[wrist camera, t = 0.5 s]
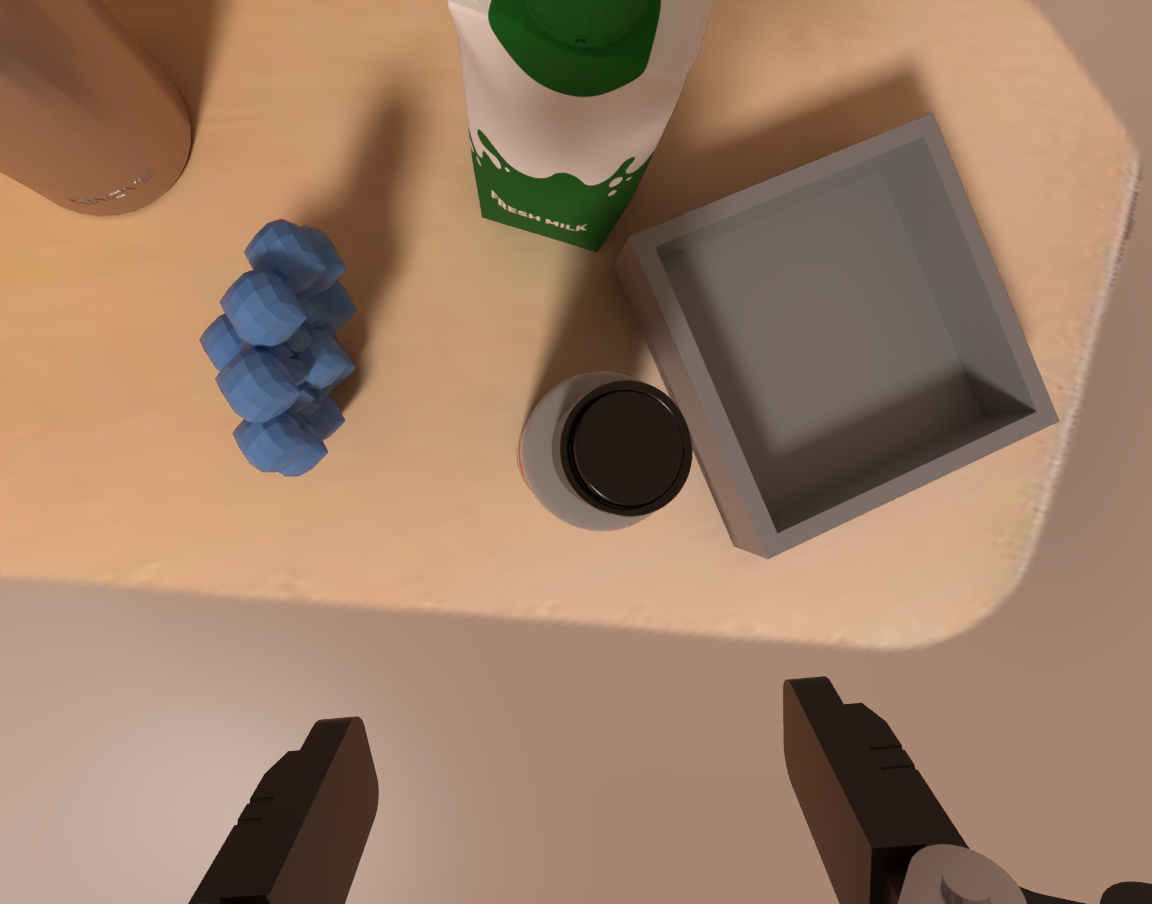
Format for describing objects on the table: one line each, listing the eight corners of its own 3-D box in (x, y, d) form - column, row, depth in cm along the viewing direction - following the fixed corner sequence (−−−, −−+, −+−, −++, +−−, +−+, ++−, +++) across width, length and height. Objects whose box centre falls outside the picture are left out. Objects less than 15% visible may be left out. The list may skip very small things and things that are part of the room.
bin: (613, 265, 38) (629, 236, 33) (879, 156, 40) (932, 112, 35) (734, 546, 38) (767, 559, 33) (991, 426, 40) (1059, 421, 35)
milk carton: (462, 228, 37) (409, -42, 17) (503, 78, 37) (499, -356, 17) (609, 272, 38) (721, 64, 18) (648, 125, 38) (801, -238, 18)
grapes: (268, 255, 36) (149, 152, 24) (392, 278, 37) (336, 189, 25) (232, 462, 35) (92, 463, 24) (357, 482, 36) (283, 492, 24)
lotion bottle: (502, 424, 37) (495, 383, 17) (595, 391, 38) (692, 315, 18) (535, 518, 37) (567, 584, 17) (627, 484, 38) (761, 510, 18)
